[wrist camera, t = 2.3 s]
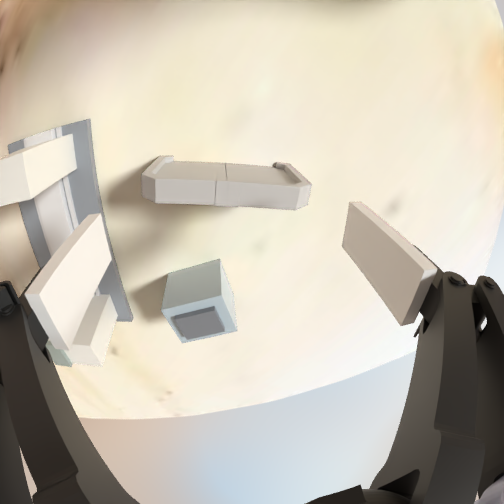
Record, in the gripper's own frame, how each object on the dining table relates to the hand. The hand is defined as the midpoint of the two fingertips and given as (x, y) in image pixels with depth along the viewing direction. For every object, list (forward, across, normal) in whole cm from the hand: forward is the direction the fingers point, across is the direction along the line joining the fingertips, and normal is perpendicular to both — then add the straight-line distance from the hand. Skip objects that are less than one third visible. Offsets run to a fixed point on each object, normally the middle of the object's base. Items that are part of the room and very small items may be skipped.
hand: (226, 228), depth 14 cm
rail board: (+12, -18, -6) cm, 22 cm away
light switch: (+12, 0, 0) cm, 12 cm away
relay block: (+12, -3, -13) cm, 18 cm away
